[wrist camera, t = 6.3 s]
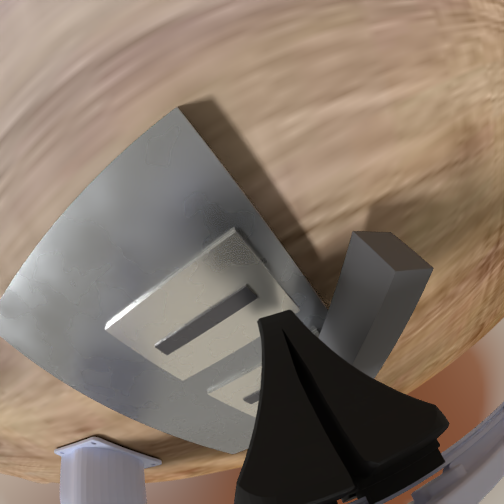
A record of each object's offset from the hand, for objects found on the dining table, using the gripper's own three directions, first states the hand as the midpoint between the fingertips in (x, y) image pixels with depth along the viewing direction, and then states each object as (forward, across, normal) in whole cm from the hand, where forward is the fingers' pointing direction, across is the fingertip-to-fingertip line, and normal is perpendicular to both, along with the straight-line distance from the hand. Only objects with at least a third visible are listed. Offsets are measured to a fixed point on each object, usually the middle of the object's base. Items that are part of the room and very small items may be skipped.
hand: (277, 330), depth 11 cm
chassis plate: (+2, +4, +4) cm, 6 cm away
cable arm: (+1, -2, +6) cm, 6 cm away
